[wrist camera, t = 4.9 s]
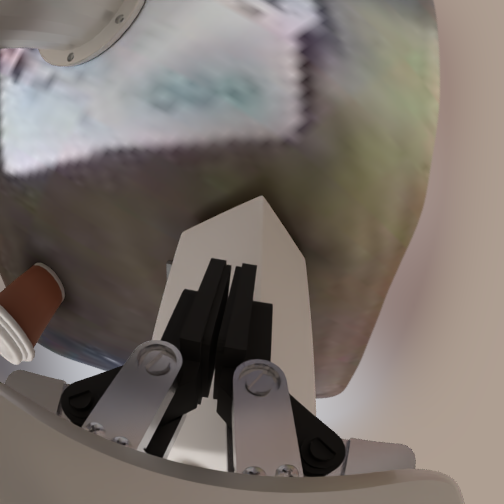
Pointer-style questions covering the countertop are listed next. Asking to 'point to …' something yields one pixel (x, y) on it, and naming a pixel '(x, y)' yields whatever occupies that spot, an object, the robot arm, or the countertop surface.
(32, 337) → the coffee cup
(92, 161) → the countertop surface
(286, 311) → the milk carton
